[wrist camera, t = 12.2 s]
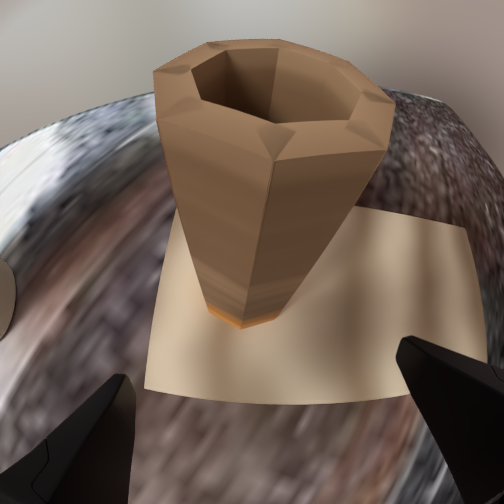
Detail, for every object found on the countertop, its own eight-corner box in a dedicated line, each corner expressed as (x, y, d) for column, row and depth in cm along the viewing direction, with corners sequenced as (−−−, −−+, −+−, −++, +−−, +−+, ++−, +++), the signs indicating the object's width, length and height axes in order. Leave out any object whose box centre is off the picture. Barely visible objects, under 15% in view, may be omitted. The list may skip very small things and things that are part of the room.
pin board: (456, 235, 22) (485, 209, 17) (476, 375, 15) (516, 367, 11) (184, 198, 21) (175, 154, 16) (151, 387, 14) (122, 390, 10)
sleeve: (299, 270, 17) (398, 84, 5) (263, 341, 15) (373, 210, 3) (229, 235, 18) (235, 30, 6) (187, 300, 16) (103, 105, 4)
